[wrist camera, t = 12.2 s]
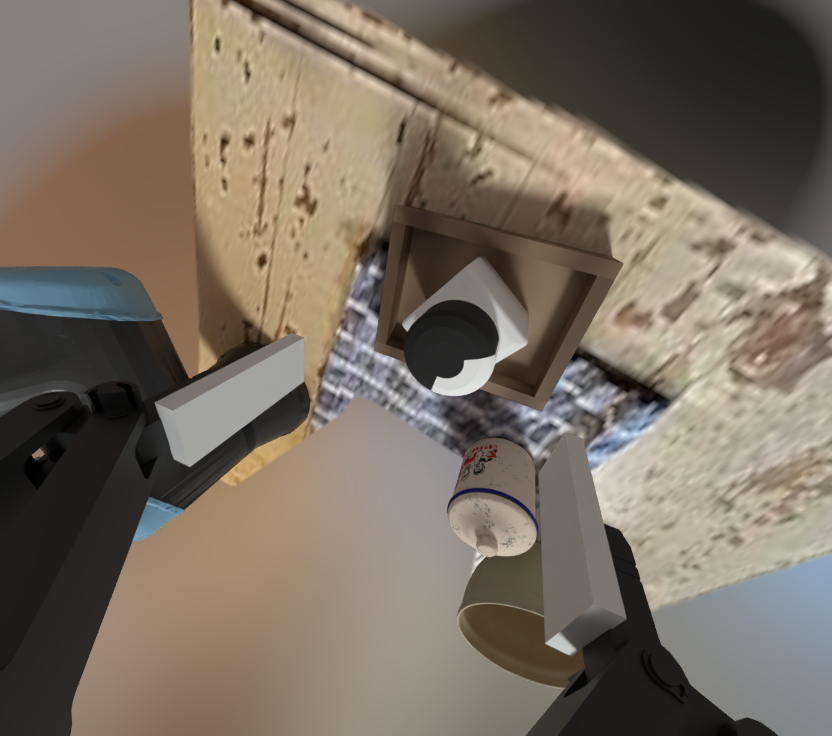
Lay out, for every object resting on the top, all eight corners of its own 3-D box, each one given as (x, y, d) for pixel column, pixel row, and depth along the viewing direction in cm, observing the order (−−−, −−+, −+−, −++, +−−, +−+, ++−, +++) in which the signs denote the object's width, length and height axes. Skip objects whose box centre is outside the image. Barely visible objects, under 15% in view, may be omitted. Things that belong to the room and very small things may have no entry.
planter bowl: (546, 508, 38) (550, 600, 29) (611, 588, 40) (634, 697, 31) (450, 530, 47) (431, 607, 37) (510, 596, 49) (504, 683, 40)
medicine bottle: (425, 301, 30) (371, 347, 20) (483, 252, 26) (451, 277, 16) (469, 355, 31) (438, 424, 21) (530, 315, 27) (529, 376, 17)
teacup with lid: (491, 421, 35) (474, 502, 25) (554, 466, 35) (562, 564, 25) (438, 471, 42) (410, 550, 32) (491, 509, 41) (479, 600, 32)
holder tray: (387, 339, 35) (374, 350, 32) (409, 206, 27) (394, 205, 24) (540, 392, 31) (541, 411, 28) (612, 257, 24) (623, 263, 21)
